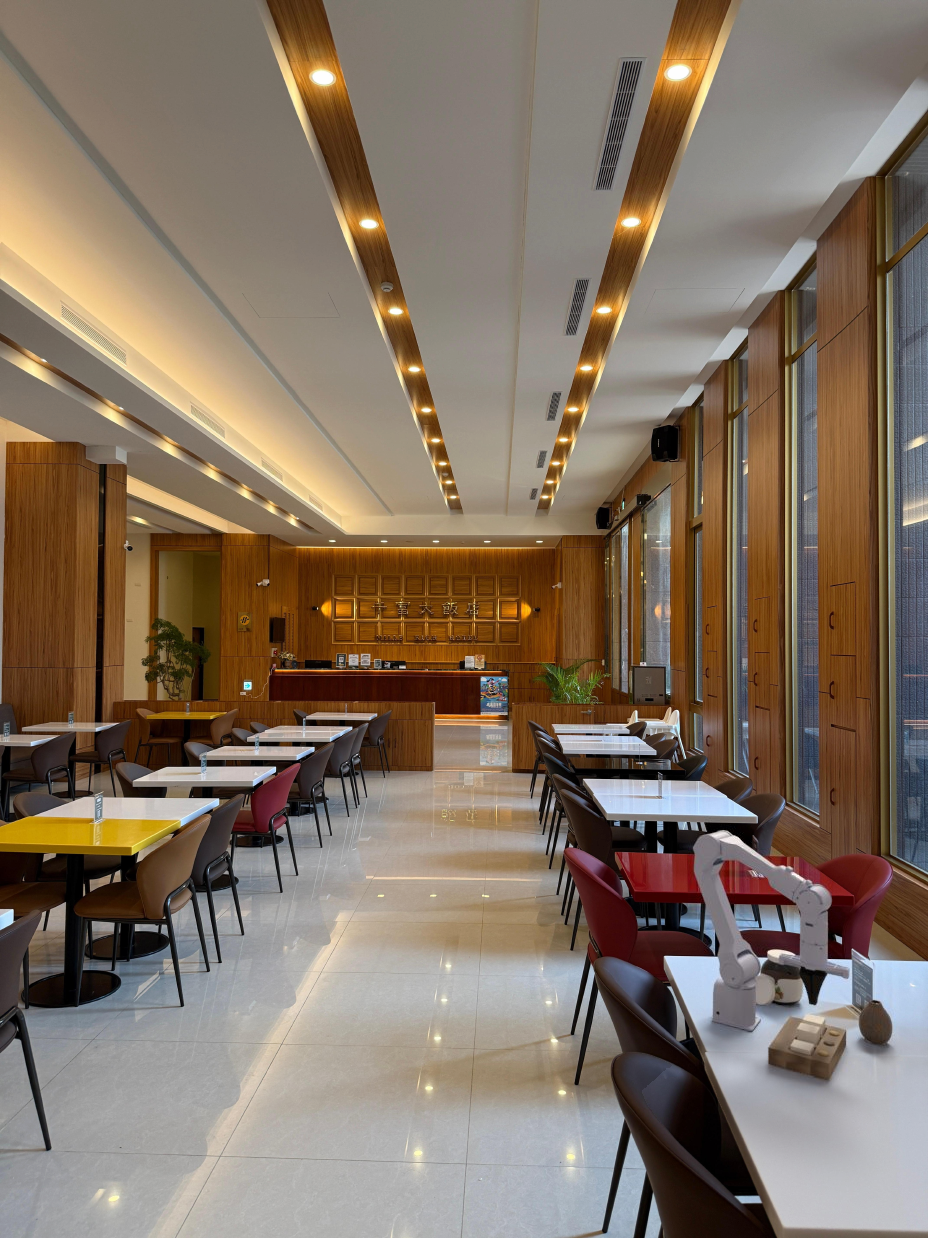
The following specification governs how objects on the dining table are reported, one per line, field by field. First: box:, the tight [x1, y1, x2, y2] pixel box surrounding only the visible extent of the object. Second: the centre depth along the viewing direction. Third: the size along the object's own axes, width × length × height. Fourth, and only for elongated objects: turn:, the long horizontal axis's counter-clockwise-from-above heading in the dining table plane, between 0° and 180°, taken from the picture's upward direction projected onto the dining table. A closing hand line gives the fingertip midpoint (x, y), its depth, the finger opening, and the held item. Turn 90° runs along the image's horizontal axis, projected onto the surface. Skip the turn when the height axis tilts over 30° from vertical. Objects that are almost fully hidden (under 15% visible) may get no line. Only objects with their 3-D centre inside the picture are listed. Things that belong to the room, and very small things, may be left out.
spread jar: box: [756, 949, 804, 1007], centre depth 212 cm, size 12×11×12 cm
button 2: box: [802, 1013, 826, 1035], centre depth 188 cm, size 4×4×4 cm
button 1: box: [790, 1039, 814, 1056], centre depth 178 cm, size 4×4×4 cm
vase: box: [858, 999, 893, 1046], centre depth 191 cm, size 7×7×9 cm
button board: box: [767, 1016, 847, 1082], centre depth 183 cm, size 12×20×4 cm, turn 146°
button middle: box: [797, 1023, 820, 1045], centre depth 183 cm, size 4×4×4 cm
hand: (813, 1003), depth 188 cm, fingers closed
